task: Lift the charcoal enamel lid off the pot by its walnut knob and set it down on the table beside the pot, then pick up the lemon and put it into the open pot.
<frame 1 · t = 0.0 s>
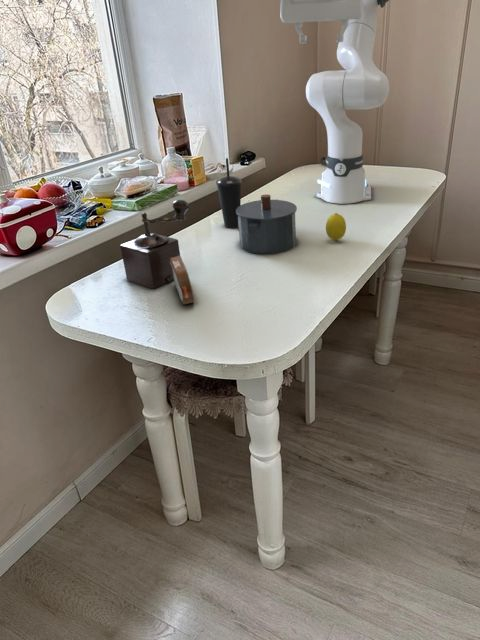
hand: (321, 42, 134), 48 cm above the table, tool pointing down, fingers open, 8 cm apart
pot: (267, 243, 151), on the table
lemon: (335, 241, 150), on the table
lid: (266, 210, 146), point 9 cm above the table, touching pot
tin: (183, 296, 125), on the table
drinking cup: (232, 226, 165), on the table
manual coffee grinder: (163, 274, 137), on the table
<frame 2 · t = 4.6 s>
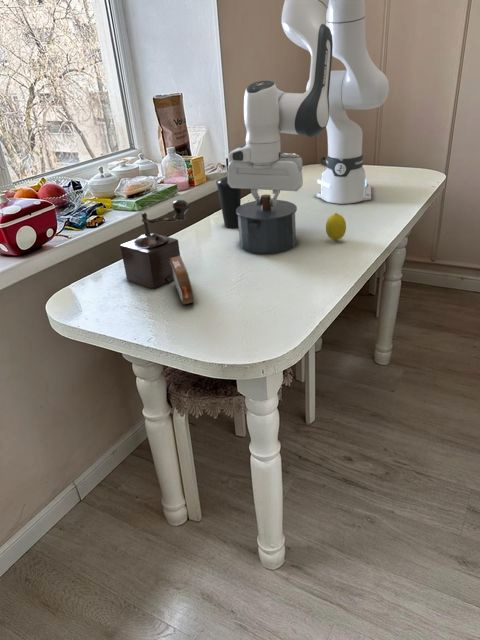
hand: (266, 205, 145), 11 cm above the table, tool pointing down, fingers closed on lid, 2 cm apart
lid: (266, 210, 146), point 10 cm above the table, touching gripper, pot
everything else where it was.
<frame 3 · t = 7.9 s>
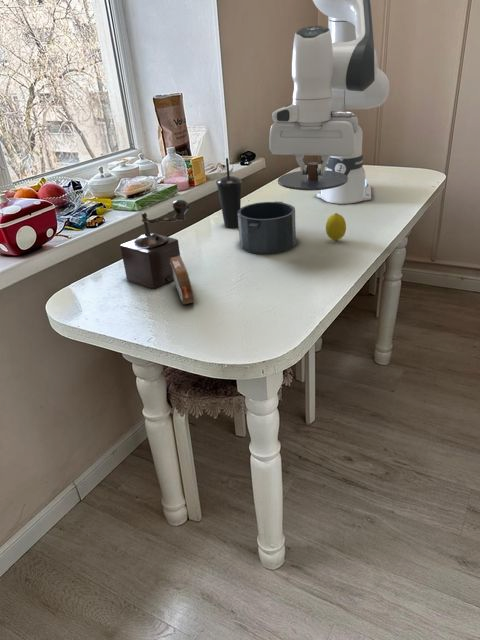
hand: (312, 174, 127), 22 cm above the table, tool pointing down, fingers closed on lid, 2 cm apart
lid: (312, 180, 127), point 21 cm above the table, touching gripper
everything else where it was.
when the fingers open (2 cm above the table, at t = 11.7 s): lid stays where it is, point 1 cm above the table.
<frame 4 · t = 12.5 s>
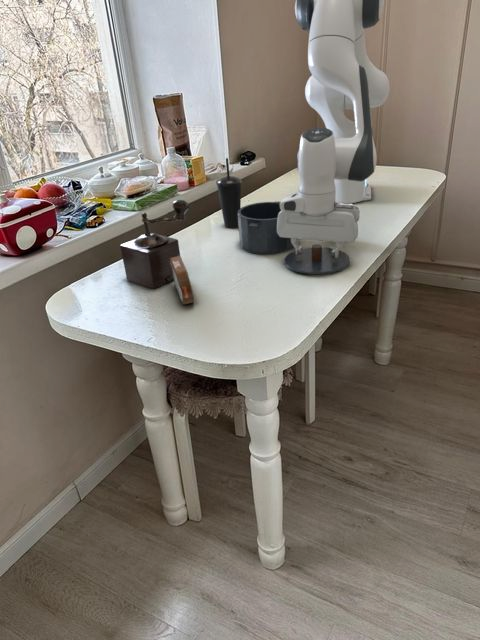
hand: (316, 255, 136), 2 cm above the table, tool pointing down, fingers open, 8 cm apart
lid: (316, 260, 137), point 1 cm above the table
everything else where it was.
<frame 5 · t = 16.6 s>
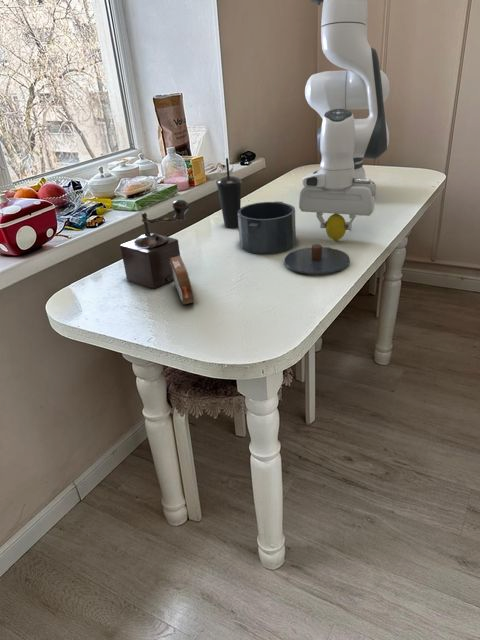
hand: (335, 228, 148), 4 cm above the table, tool pointing down, fingers closed on lemon, 5 cm apart
lemon: (335, 241, 150), on the table, touching gripper
everything else where it was.
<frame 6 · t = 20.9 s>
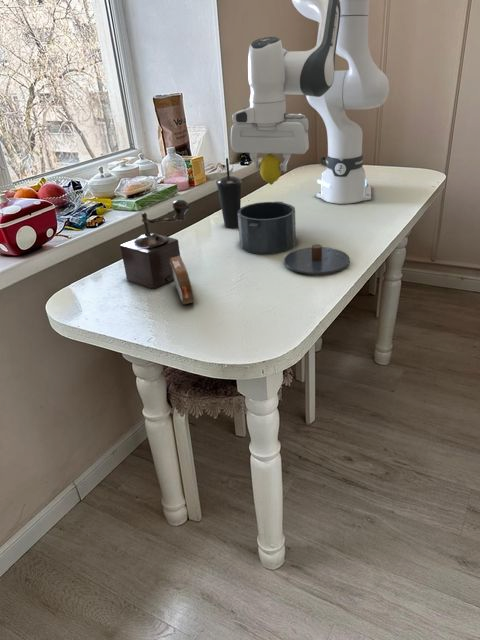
hand: (270, 170, 140), 20 cm above the table, tool pointing down, fingers closed on lemon, 5 cm apart
lemon: (271, 185, 142), point 16 cm above the table, touching gripper
everything else where it was.
when the fingers open (4 cm above the table, at t = 25.1 s): lemon stays where it is, resting on pot.
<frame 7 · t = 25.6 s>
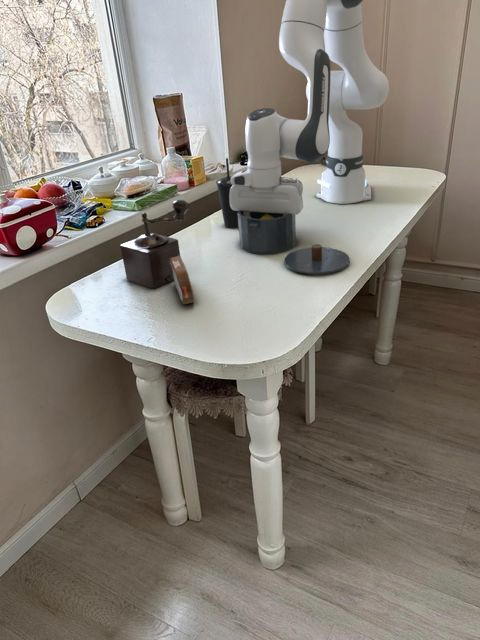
hand: (267, 227, 148), 5 cm above the table, tool pointing down, fingers open, 8 cm apart
lemon: (268, 242, 151), resting on pot
everything else where it was.
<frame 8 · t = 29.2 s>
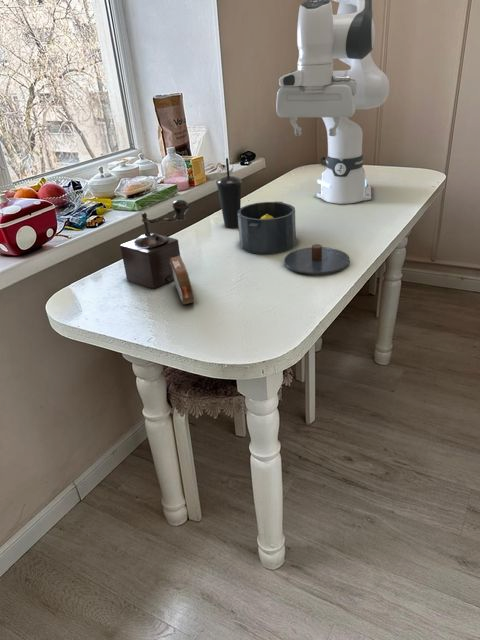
hand: (315, 135, 141), 27 cm above the table, tool pointing down, fingers open, 8 cm apart
nothing on the table moved.
at the end: lemon inside the target area in the pot (0.1 cm from its centre), point 0.3 cm above the pot's base; lid inside the target area (0.1 cm from its centre), point 0.6 cm above the table; lid tilted 0° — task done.
